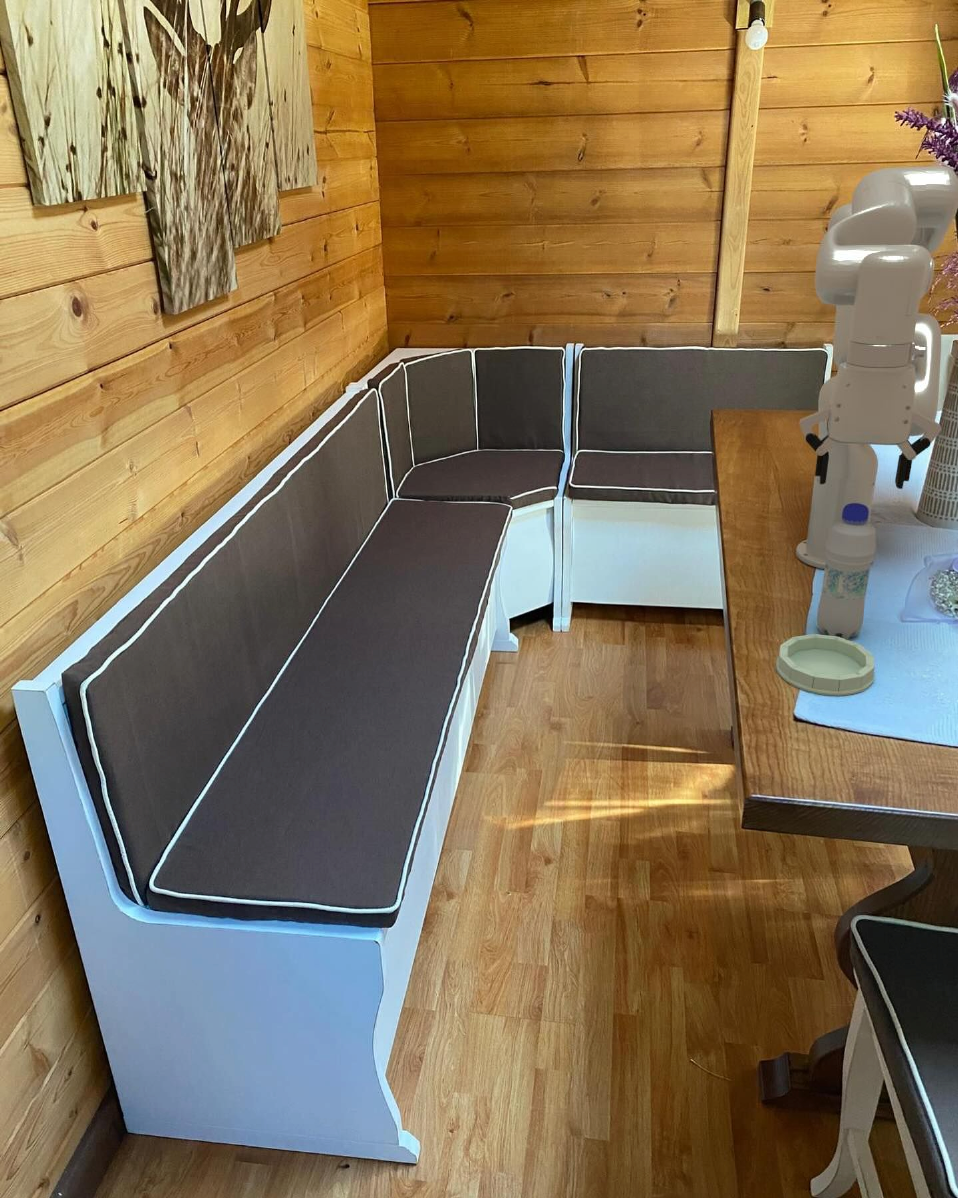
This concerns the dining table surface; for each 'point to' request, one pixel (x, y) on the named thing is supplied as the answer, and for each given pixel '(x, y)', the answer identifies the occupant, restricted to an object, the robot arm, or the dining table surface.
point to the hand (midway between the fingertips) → (860, 483)
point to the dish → (826, 665)
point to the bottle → (846, 572)
